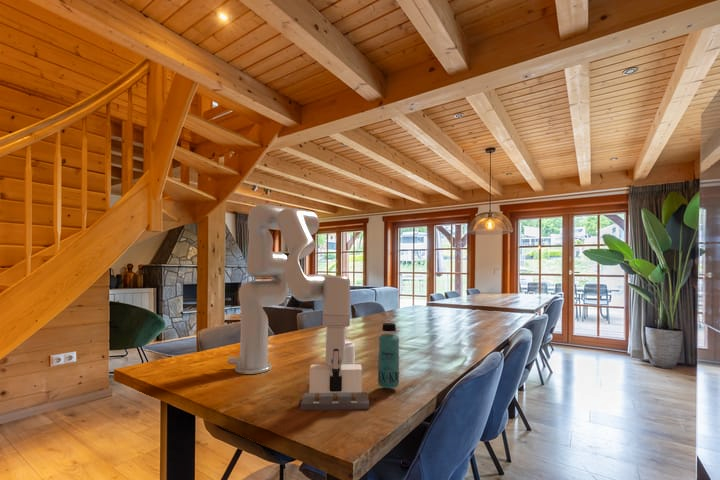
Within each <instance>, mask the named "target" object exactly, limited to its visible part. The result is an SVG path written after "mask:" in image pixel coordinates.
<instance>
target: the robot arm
mask: <svg viewBox="0 0 720 480" xmlns="http://www.w3.org/2000/svg"><path fill="white" fill-rule="evenodd" d="M247 216H248V217H247V229H248V237H249V238H248V247H247V248H248V249H247V258H246V273H247V275H248V276H249V277H253V278H270V280H268V279H267V280H264V279H263V280H250V281H246V282H244V283H243V284H241V286H240V287H239V290H238V298H239V306H240V342H239V343H240V345H239V347H240V348H239V356H236V357H234V356H233V357H231V356H230V357H228V358H227V363H228V364H229V365H236V366H234V372H235V373H237V374H242V375H255V374H263V373H265V372H269V371H270V370H271V369H272V367H273V366H272V364H271V362H268V349H269V346H268V344H269V343H268V342H269V318H268V315H267V313H266V311H265V310H264V307H271V306H279V305H281V304H283V303H284V302H285V300H286V298H287V294H288V288H289V291H290V293H291V295H292V296H293V298H294V299H295V300H297V301H299V302H312V301H313V302H314V301H322V327H324V328H326V330H325V364H324V365H330V364H331V376H330V391H331V392H340V391H342V376H341V365H342V364H343V363H344V354H345V339H346V332H347V331H346V328H348V327H350V326H351V280H350V277H348V276H345V275H331V274H324V273H323V274H321V273H320V274H317V273H316V274H305V273H304V271H303V269H302V266H301V263H300V260H302V259H304V258H306V257H308V256H309V255H310V254H312V252H313V251H315V249H316V242H315V240H314V238H313V235H315V234H316V233H317V232H318V230H319V227H320V219H319V217H318V216H317V214H316V213H315V212H314V211H312V210H308V209H300V208H295V207H288V206H281V205H275V204H274V205H272V204H265V203H264V204H257V205H255V206H253V207H252V208H251V209H250V210H249V213H248V215H247ZM270 230H276V231H280V233H281V236H282V238H283V241H284V244H285V245H286V247H287V250H288V252H289V253H288V255H287V254H285V253H283V252H280V251H273V247H274V239H273V236H272V233H271V232H270ZM338 366H339V368H338Z"/></svg>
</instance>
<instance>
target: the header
mask: <svg viewBox="0 0 720 480" xmlns="http://www.w3.org/2000/svg"><path fill="white" fill-rule="evenodd" d="M301 398H302V399H301V402H300V411H307V410H308V411H313V410H315V411H316V410H317V411H319V410H321V411H324V410H327V411H328V410H369V409H370V400H369V395H368V391H362V392H346V393H309V392H303V395H302V397H301Z"/></svg>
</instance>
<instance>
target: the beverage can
mask: <svg viewBox="0 0 720 480" xmlns="http://www.w3.org/2000/svg"><path fill="white" fill-rule="evenodd" d="M355 351H356V346H355V343H354V340H352V339H348V338H345V354H344V363H343V364H355V362H356V361H355V360H356V359H355V358H356V357H355V356H356V353H355Z"/></svg>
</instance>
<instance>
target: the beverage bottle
mask: <svg viewBox="0 0 720 480" xmlns="http://www.w3.org/2000/svg"><path fill="white" fill-rule="evenodd" d="M396 327H397V326H396V323H393V322H384V323H383V324H382V331H383V332H385V333H382V334H381V335H379V337H378V355H377V356H378V363H377V365H378V366H377V373H378V374H377V375H378V376H377V383H378V386H379V387H381V388H383V389H394V388H397V387H398V386H399V384H400V368H399V367H400V338H399V336H397V334H394V333H386V332H396V331H397V328H396Z"/></svg>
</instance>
